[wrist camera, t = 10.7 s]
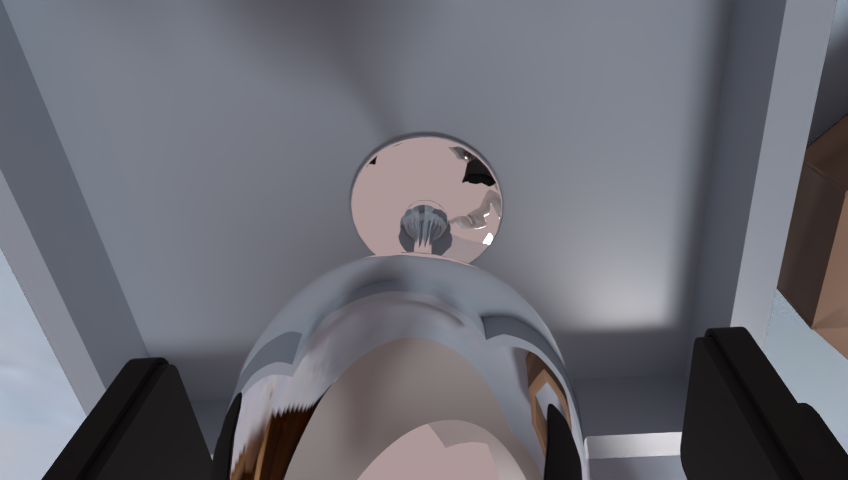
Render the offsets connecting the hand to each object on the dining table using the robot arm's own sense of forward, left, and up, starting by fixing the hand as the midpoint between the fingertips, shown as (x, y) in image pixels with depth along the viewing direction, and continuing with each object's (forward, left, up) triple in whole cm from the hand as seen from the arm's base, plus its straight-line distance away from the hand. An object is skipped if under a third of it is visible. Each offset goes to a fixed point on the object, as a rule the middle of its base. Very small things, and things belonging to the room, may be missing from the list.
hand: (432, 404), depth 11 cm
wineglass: (0, 0, -8) cm, 8 cm away
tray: (0, +1, -9) cm, 9 cm away
